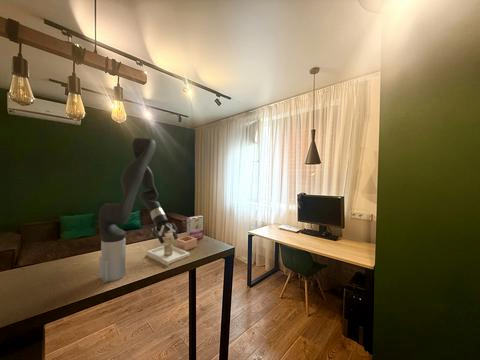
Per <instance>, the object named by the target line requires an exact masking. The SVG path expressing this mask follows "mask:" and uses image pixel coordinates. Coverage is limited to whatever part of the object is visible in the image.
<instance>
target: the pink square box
mask: <svg viewBox="0 0 480 360" xmlns="http://www.w3.org/2000/svg"><path fill="white" fill-rule="evenodd" d="M174 240H175V239H174ZM174 243H175V244H174V245H175V246H174V247H177V248H179V249H182V250H184V251H186V252H187V251H189V250H191V249H193V248H197V246H198V239H197V238H194V237H191V236H188V235H187V234H186V235H184V236H180V237H178V238H177V239H176V240H175V241H174Z"/></svg>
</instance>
